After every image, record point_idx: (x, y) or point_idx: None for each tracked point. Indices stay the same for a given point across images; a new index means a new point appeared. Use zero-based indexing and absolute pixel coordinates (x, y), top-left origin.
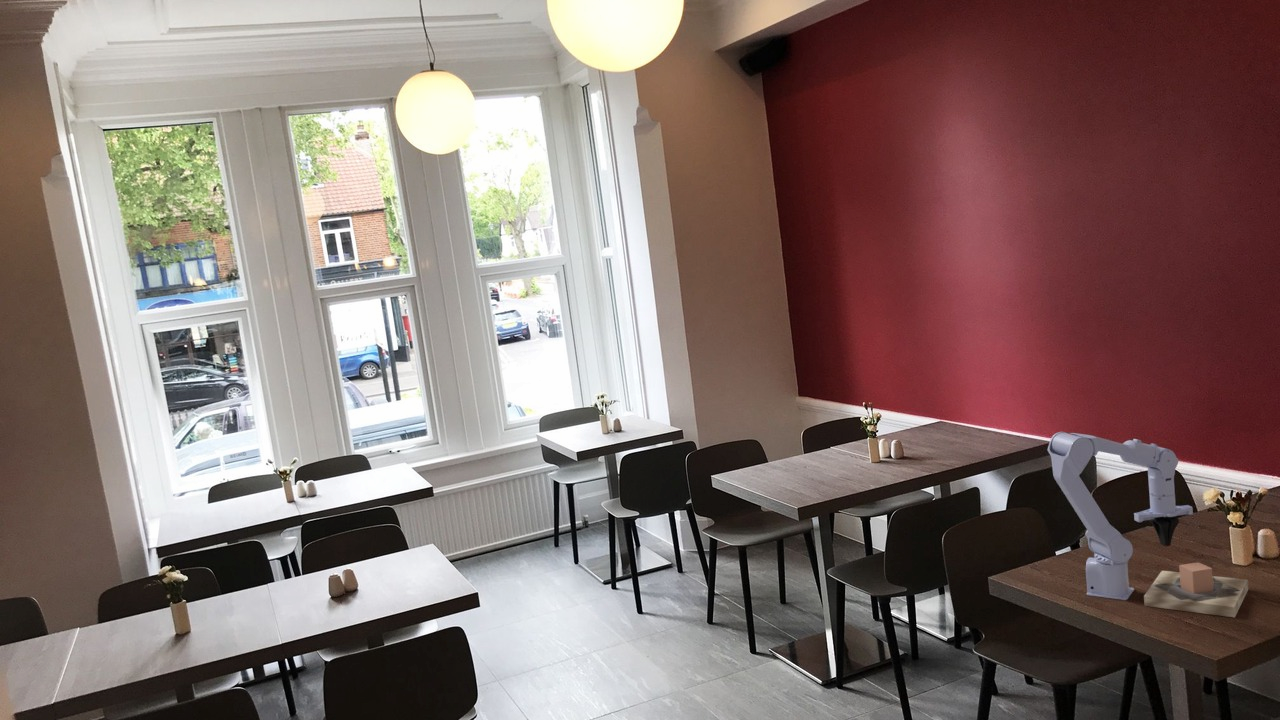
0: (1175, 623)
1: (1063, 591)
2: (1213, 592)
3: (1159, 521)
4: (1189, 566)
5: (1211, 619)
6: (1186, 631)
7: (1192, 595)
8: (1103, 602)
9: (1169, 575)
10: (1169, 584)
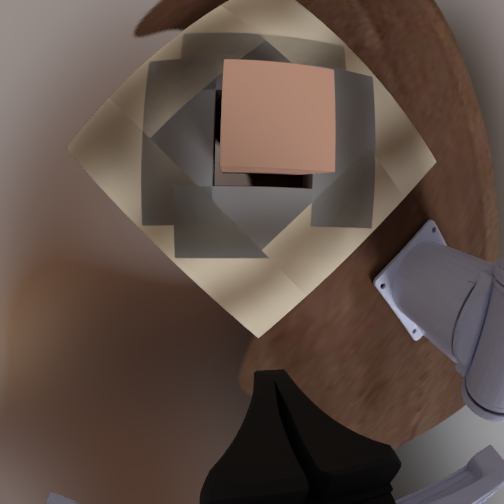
0: (404, 47)
1: None
2: None
3: (375, 485)
4: (303, 129)
5: (319, 16)
6: (401, 12)
7: None
8: (462, 234)
9: (267, 288)
10: (324, 208)
